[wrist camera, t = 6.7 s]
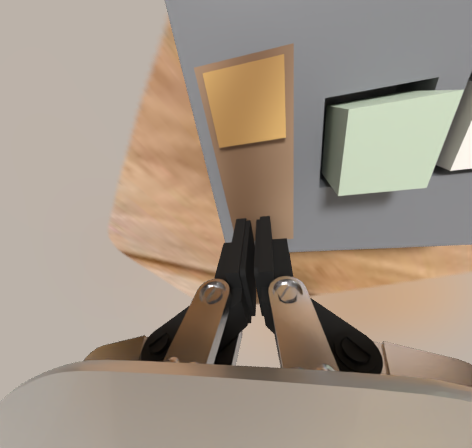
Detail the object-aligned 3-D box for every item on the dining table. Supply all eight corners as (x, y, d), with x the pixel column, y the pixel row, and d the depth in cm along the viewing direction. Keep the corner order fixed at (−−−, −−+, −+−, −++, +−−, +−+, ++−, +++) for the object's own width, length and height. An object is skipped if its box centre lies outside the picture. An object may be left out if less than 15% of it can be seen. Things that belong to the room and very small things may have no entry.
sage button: (407, 90, 9) (464, 89, 7) (388, 165, 11) (426, 187, 9) (326, 105, 10) (348, 109, 7) (321, 173, 12) (338, 196, 9)
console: (604, -105, 7) (1020, -350, 3) (451, 210, 15) (521, 254, 11) (192, 18, 11) (147, -29, 7) (235, 225, 18) (226, 264, 14)
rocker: (289, 46, 7) (294, 42, 6) (291, 225, 12) (293, 241, 10) (202, 67, 7) (192, 67, 6) (238, 228, 12) (236, 244, 11)
